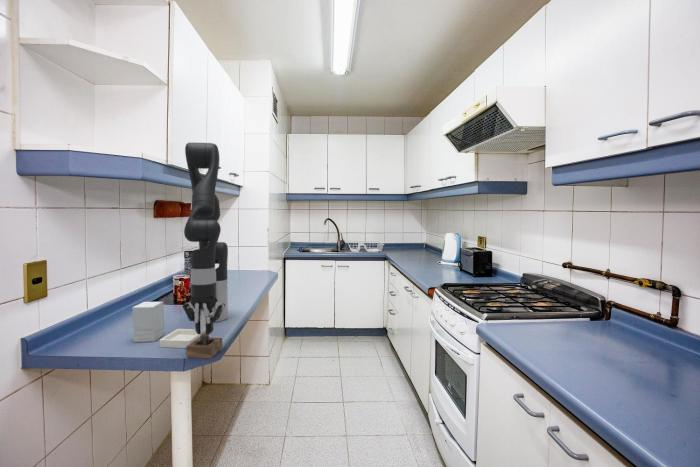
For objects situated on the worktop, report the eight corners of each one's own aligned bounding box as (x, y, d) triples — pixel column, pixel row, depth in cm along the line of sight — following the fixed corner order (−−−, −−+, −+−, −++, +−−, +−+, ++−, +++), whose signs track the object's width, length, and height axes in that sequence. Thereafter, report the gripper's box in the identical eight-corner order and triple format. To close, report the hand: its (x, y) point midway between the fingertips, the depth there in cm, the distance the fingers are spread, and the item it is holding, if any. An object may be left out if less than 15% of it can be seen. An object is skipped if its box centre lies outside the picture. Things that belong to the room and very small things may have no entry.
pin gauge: (202, 342, 108) (202, 306, 107) (210, 342, 108) (209, 307, 107) (198, 345, 105) (198, 309, 104) (206, 345, 105) (205, 309, 104)
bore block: (199, 347, 111) (199, 337, 111) (222, 347, 110) (222, 337, 110) (186, 357, 103) (186, 346, 103) (210, 358, 102) (210, 347, 102)
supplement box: (165, 334, 122) (164, 301, 121) (154, 342, 115) (153, 307, 114) (145, 334, 122) (144, 301, 121) (132, 342, 114) (131, 307, 114)
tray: (177, 335, 121) (177, 328, 121) (205, 336, 120) (205, 329, 120) (159, 347, 110) (159, 339, 110) (189, 348, 110) (189, 341, 110)
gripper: (229, 279, 108) (230, 330, 110) (189, 278, 109) (190, 328, 110) (219, 284, 101) (219, 338, 102) (176, 283, 102) (177, 337, 103)
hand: (204, 333), depth 106 cm, fingers closed on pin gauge, 2 cm apart
